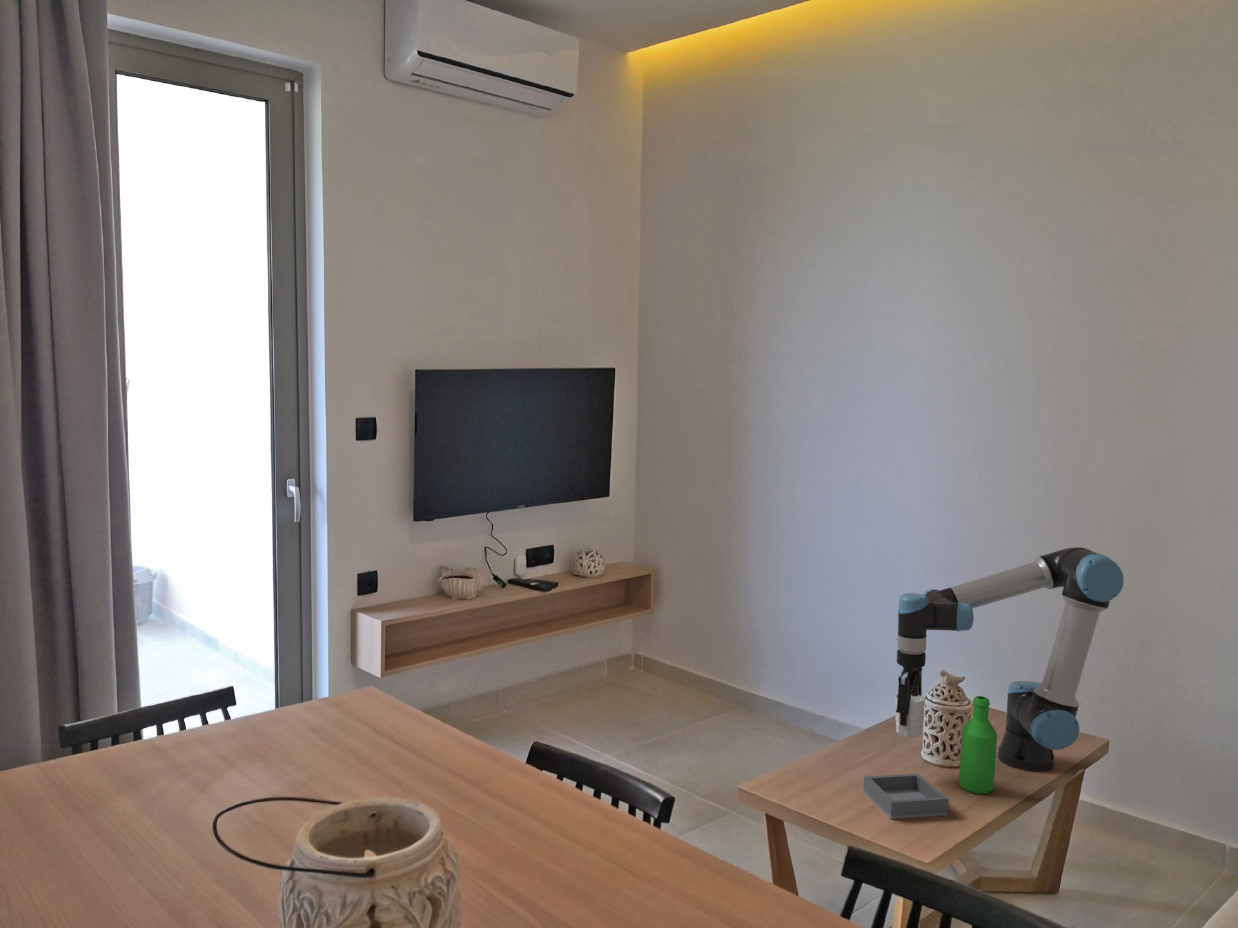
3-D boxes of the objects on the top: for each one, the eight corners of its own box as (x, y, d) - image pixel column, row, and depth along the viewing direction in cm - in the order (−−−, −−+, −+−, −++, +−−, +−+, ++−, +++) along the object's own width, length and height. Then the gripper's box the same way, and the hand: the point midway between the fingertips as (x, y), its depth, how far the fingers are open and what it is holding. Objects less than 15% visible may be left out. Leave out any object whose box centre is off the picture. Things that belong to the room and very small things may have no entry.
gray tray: (917, 788, 252) (917, 773, 252) (947, 815, 237) (948, 798, 237) (863, 792, 250) (864, 776, 249) (890, 819, 234) (891, 802, 234)
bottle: (960, 778, 260) (966, 690, 258) (994, 785, 256) (1000, 695, 254) (957, 790, 252) (962, 699, 250) (991, 798, 248) (997, 705, 246)
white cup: (925, 739, 256) (926, 703, 255) (895, 736, 258) (896, 701, 257) (922, 728, 264) (923, 693, 263) (892, 726, 265) (893, 691, 264)
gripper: (909, 639, 269) (906, 717, 271) (885, 656, 252) (882, 739, 254) (935, 644, 265) (932, 723, 267) (913, 661, 248) (910, 746, 250)
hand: (908, 731), depth 261 cm, fingers closed on white cup, 7 cm apart
